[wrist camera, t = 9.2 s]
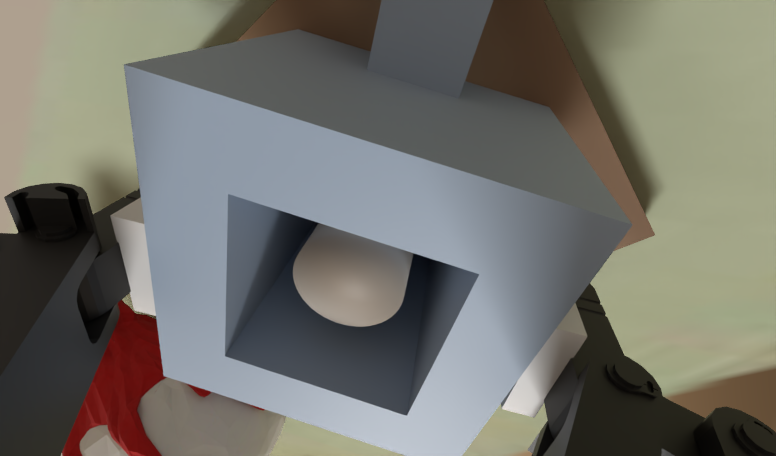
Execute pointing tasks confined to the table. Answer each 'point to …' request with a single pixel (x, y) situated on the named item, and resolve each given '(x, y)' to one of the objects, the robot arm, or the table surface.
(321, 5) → the post base
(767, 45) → the table surface
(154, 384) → the candle
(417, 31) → the square nut with handle
